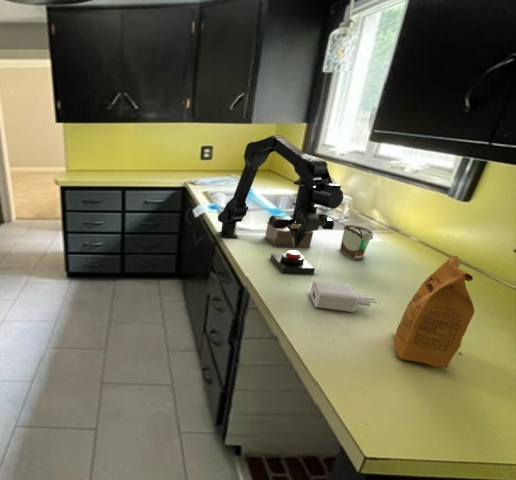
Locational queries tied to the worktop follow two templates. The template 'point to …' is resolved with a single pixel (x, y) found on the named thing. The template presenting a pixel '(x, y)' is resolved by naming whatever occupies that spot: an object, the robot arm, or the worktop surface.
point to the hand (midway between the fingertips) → (295, 247)
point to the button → (293, 254)
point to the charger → (337, 296)
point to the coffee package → (436, 317)
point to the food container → (355, 241)
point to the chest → (286, 238)
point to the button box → (292, 264)
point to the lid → (282, 229)
